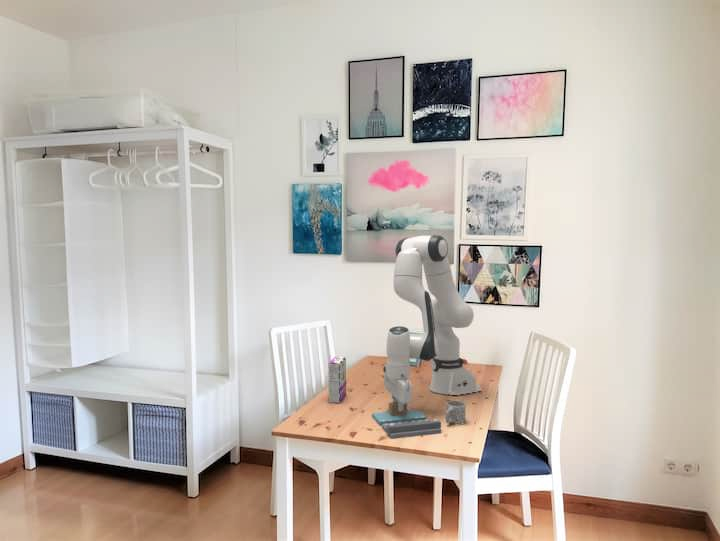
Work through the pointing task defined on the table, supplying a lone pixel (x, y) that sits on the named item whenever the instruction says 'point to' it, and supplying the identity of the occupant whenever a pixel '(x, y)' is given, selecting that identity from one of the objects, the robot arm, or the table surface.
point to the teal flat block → (398, 415)
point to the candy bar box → (337, 379)
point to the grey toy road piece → (412, 428)
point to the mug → (455, 412)
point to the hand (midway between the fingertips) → (397, 408)
